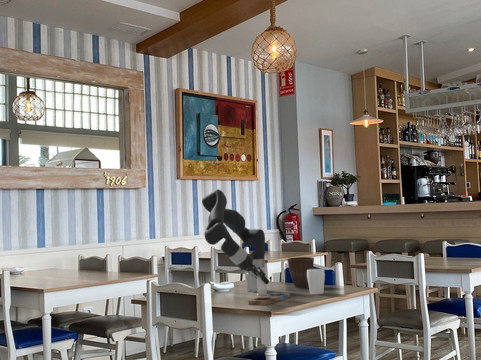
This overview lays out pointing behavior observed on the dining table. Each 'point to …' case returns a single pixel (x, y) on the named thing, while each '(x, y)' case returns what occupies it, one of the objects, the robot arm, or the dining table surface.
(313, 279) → the cup
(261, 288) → the salt mill
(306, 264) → the plant pot
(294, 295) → the dining table surface
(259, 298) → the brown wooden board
